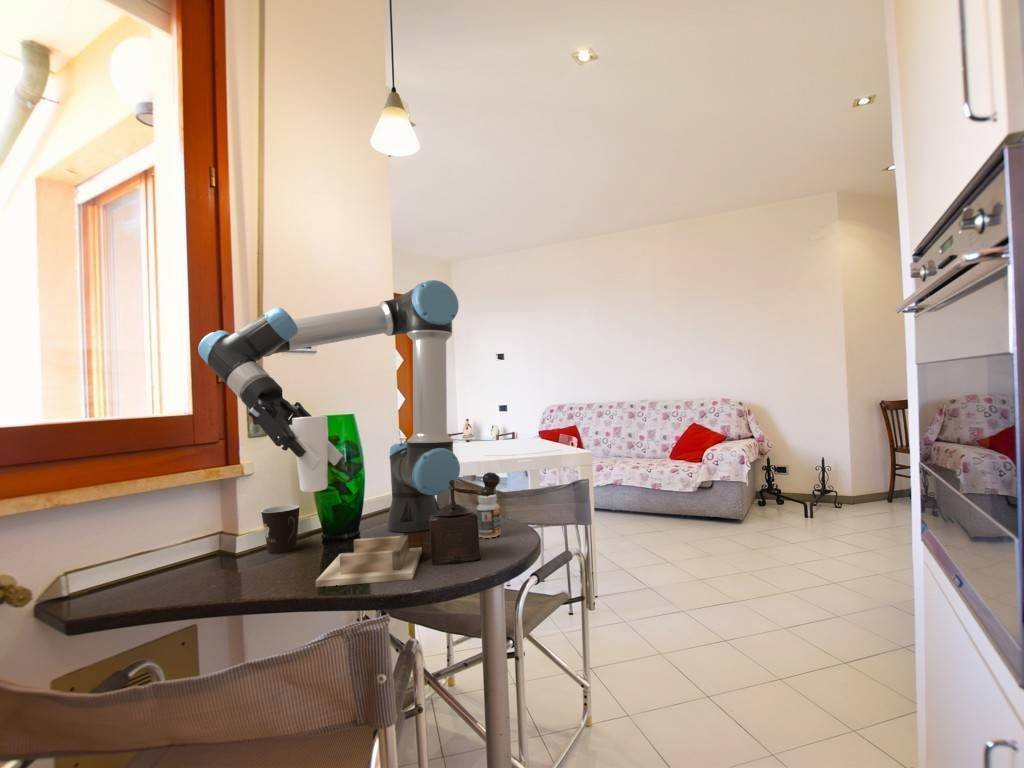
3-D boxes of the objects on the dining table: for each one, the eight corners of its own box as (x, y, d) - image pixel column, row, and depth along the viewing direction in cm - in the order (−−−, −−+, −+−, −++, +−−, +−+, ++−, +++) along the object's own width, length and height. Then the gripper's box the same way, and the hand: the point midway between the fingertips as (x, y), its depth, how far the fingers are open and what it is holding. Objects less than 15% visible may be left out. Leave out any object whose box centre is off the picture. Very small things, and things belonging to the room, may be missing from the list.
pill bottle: (500, 538, 127) (498, 497, 127) (476, 539, 127) (474, 498, 127) (501, 532, 132) (499, 493, 133) (478, 534, 132) (476, 494, 133)
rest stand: (315, 587, 99) (314, 562, 99) (340, 559, 117) (339, 537, 117) (412, 579, 100) (410, 554, 101) (421, 552, 118) (420, 531, 119)
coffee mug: (264, 548, 131) (262, 507, 131) (301, 543, 134) (300, 503, 134) (259, 560, 120) (258, 516, 120) (300, 554, 123) (298, 511, 123)
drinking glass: (337, 486, 110) (332, 414, 110) (322, 492, 103) (317, 416, 104) (306, 488, 111) (302, 417, 111) (289, 494, 104) (284, 418, 105)
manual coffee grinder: (430, 566, 108) (425, 478, 108) (431, 552, 119) (427, 471, 119) (505, 559, 110) (500, 472, 110) (499, 545, 121) (495, 466, 121)
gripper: (278, 400, 121) (345, 469, 116) (208, 403, 102) (284, 485, 98) (296, 375, 120) (364, 444, 115) (229, 373, 101) (306, 455, 96)
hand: (327, 462), depth 106 cm, fingers closed on drinking glass, 7 cm apart
